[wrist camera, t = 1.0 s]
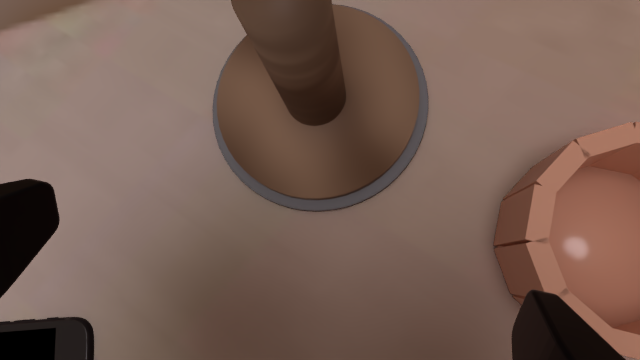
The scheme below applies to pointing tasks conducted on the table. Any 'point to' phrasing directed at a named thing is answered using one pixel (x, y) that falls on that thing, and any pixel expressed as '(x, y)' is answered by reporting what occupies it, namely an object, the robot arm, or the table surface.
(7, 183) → the robot arm
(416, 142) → the mat
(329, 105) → the post with round base
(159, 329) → the table surface
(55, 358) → the smartphone
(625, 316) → the bowl
